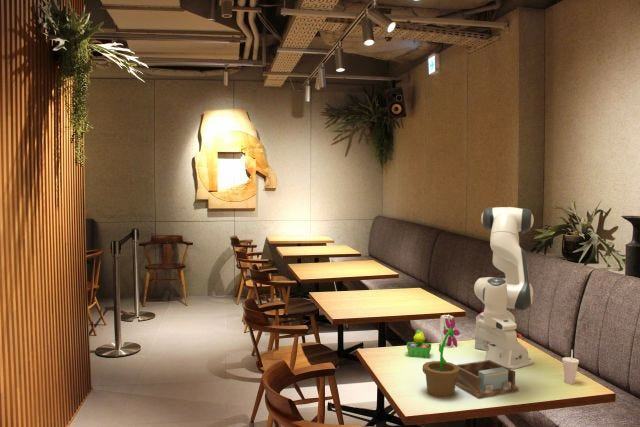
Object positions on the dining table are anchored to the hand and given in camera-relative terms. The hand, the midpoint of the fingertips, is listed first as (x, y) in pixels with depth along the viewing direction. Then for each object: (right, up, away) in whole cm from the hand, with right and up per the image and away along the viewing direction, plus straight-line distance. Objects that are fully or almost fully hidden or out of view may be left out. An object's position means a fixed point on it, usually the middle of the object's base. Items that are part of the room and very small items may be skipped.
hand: (494, 354), depth 219 cm
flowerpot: (-21, -15, -1) cm, 26 cm away
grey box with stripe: (0, -14, +1) cm, 14 cm away
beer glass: (-5, -11, +59) cm, 61 cm away
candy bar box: (+13, -11, +59) cm, 61 cm away
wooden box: (-2, -15, +5) cm, 16 cm away
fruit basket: (-22, -12, +45) cm, 51 cm away
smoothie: (+35, -15, +12) cm, 40 cm away
